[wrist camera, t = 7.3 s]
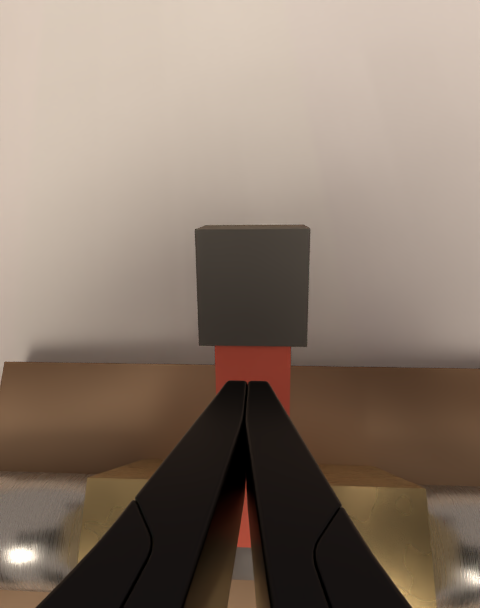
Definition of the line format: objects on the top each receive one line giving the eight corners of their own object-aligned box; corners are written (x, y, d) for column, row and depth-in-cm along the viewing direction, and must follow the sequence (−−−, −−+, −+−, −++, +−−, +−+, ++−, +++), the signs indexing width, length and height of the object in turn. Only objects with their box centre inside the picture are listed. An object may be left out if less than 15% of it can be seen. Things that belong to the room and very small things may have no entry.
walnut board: (562, 711, 15) (593, 742, 13) (-26, 672, 16) (-54, 697, 15) (510, 373, 18) (532, 369, 17) (23, 366, 19) (4, 361, 18)
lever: (299, 599, 12) (310, 228, 10) (207, 594, 13) (194, 229, 10) (295, 545, 14) (303, 224, 12) (215, 542, 15) (205, 225, 12)
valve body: (574, 606, 14) (753, 715, 9) (-36, 576, 16) (-187, 655, 11) (551, 471, 16) (698, 497, 10) (-14, 454, 17) (-141, 470, 12)
